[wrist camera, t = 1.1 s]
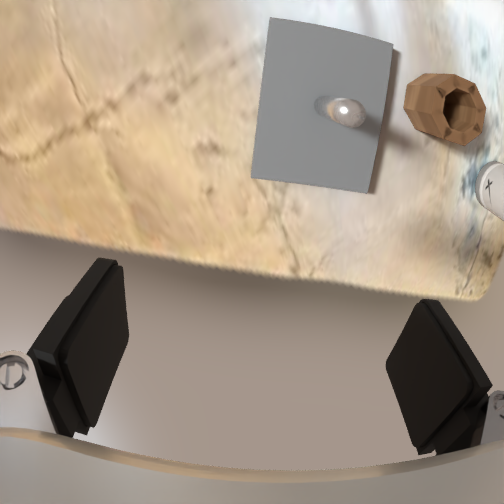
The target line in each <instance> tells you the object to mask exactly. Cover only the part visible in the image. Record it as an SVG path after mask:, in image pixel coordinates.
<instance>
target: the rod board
mask: <svg viewBox="0 0 504 504" xmlns="http://www.w3.org/2000/svg"><path fill="white" fill-rule="evenodd" d="M392 50H393V44H391V43H388V42H385V41H382V40H378V39H375V38H371V37H368V36H364V35H360V34H357V33H353V32H349V31H344V30H340V29H336V28H331V27H326V26H321V25H316V24H311V23H305V22H299V21H293V20H287V19H279V18H272V17H270V20H269V27H268V35H267V44H266V52H265V60H264V68H263V76H262V84H261V93H260V101H259V110H258V118H257V126H256V135H255V144H254V152H253V161H252V170H251V178H255V179H265V180H273V181H282V182H290V183H298V184H306V185H313V186H320V187H327V188H334V189H341V190H347V191H354V192H360V193H366V194H367V193H368V188H369V184H370V179H371V175H372V170H373V165H374V161H375V156H376V151H377V146H378V141H379V135H380V130H381V125H382V119H383V113H384V107H385V101H386V95H387V88H388V81H389V74H390V67H391V59H392ZM320 96H330V97H338V98H346V99H353V100H357V101H359V102H360V103H361V104H362V105H363V106H364V108H365V111H366V117H365V120H364V122H363V123H362V124H361V125H360V126H358V127H355V128H350V127H347V126H345V125H342V124H340V123H338V122H335V121H333V120H330V119H328V118H326V117H323V116H321V115H319V114H318V113H317V112H316V111H315V109H314V103H315V100H316V99H317V98H318V97H320Z"/></svg>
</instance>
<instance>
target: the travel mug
mask: <svg viewBox="0 0 504 504" xmlns="http://www.w3.org/2000/svg"><path fill="white" fill-rule="evenodd" d="M475 193H476V197H477V200H478V201H479V203H480V204H481V205H482V206H483V207H485V208H486V209H488V210H489V211H491V212H492V213H493V214H495V215H496V216H498V217H499V218H500V219H502V220H503V221H504V164H502V163H500V162H497V161H492V162H489V163H487V164H486V165H485V166H483V168H482V169H481V170H480V172H479V174H478V176H477V179H476V184H475Z"/></svg>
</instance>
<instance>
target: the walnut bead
mask: <svg viewBox="0 0 504 504" xmlns="http://www.w3.org/2000/svg"><path fill="white" fill-rule="evenodd" d="M444 101H445V102H446V103H445V109H444V114H443V107H444ZM403 108H404V110H405V112H406V113H407V115H408V117H409V119H410V120H411V122H412V124H413V126H414V128H415V129H416V130H419V131H422V132H425V133H428V134H431V135H434V136H436V137H439V138H442V139H445V140H448V141H451V142H454V143H457V144H460V145H463V146H465V145H466V144H468V143H469V142H470V141H472V140H473V139H474V138H476V137H477V136H478V135H480V134H481V133H482V128H483V123H484V117H485V111H486V107H485V104H484V102H483V100H482V97H481V95H480V93H479V91H478V89H477V86H476V84H475V83H472V82H470V81H468V80H466V79H464V78H462V77H459V76H457V75H455V74H423V75H421V76H420V77H418V78H417V79H415V80H414V81H412V82H411V83H409V84H408V85H407V89H406V95H405V101H404V107H403Z"/></svg>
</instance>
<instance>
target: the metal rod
mask: <svg viewBox="0 0 504 504" xmlns="http://www.w3.org/2000/svg"><path fill="white" fill-rule="evenodd" d="M314 109H315V111H316V112H317V113H318V114H319V115H321V116H323V117H326V118H328V119H330V120H333V121H335V122H338V123H340V124H342V125H345V126H347V127H350V128H355V127H358V126H360V125H361V124H362V123H363V122H364V120H365V117H366V111H365V108H364V106H363V105H362V104H361V103H360V102H359V101H357V100H353V99H346V98H338V97H330V96H320V97H318V98H317V99H316V100H315V103H314Z"/></svg>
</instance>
